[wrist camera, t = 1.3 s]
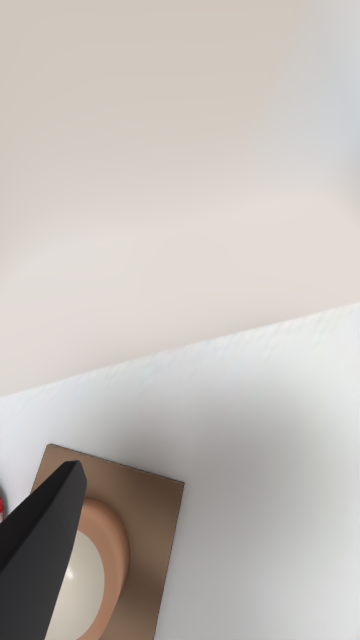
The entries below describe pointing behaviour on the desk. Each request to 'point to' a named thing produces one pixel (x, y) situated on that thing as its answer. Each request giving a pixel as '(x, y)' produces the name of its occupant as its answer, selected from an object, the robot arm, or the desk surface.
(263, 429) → the desk surface
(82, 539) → the terracotta bowl
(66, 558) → the robot arm
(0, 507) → the soda can
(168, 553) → the walnut trivet
